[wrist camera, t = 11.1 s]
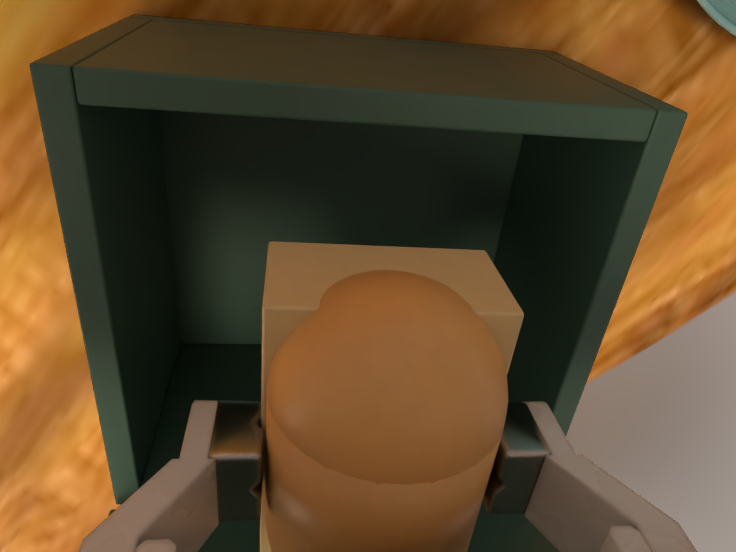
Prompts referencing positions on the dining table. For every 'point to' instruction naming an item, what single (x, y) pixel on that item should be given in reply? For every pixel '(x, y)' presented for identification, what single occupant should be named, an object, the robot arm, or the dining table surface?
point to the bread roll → (380, 395)
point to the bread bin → (327, 196)
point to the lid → (487, 548)
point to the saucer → (721, 13)
